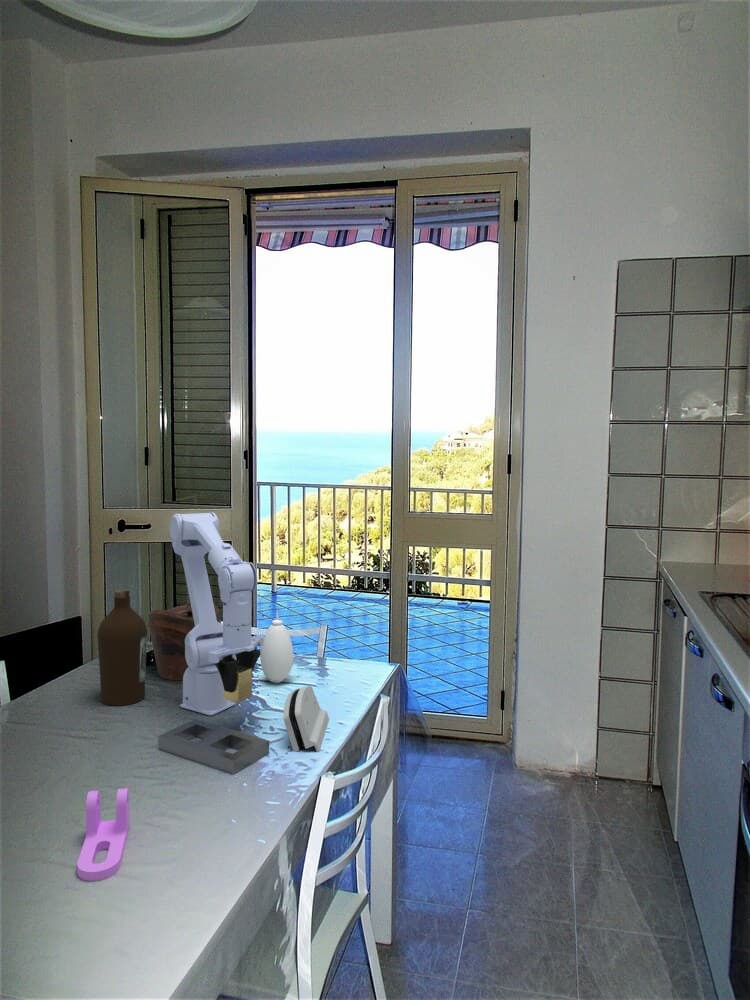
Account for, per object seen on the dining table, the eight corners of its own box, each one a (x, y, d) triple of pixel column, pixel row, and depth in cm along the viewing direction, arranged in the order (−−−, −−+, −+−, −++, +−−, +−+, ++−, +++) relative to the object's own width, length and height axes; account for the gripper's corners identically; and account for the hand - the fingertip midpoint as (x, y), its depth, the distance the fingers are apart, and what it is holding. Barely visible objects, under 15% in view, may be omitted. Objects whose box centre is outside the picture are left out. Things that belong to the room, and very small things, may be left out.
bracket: (90, 830, 106) (90, 786, 105) (129, 827, 107) (129, 783, 106) (73, 884, 93) (72, 834, 93) (117, 879, 94) (117, 829, 94)
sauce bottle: (254, 681, 172) (254, 610, 170) (278, 674, 178) (278, 604, 176) (275, 689, 167) (275, 615, 165) (299, 681, 173) (300, 610, 171)
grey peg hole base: (158, 748, 134) (158, 736, 134) (196, 730, 142) (195, 718, 142) (233, 774, 124) (233, 760, 124) (269, 753, 133) (269, 740, 133)
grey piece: (319, 752, 134) (302, 704, 133) (295, 759, 134) (278, 711, 133) (329, 718, 150) (314, 675, 150) (308, 724, 151) (293, 681, 150)
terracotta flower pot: (221, 657, 190) (220, 593, 188) (221, 683, 171) (220, 611, 169) (153, 661, 186) (151, 595, 185) (145, 688, 167) (143, 615, 165)
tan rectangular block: (223, 698, 142) (223, 669, 142) (236, 692, 146) (236, 664, 145) (238, 702, 140) (238, 673, 140) (251, 696, 144) (251, 668, 143)
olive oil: (96, 709, 153) (94, 596, 150) (99, 692, 163) (98, 586, 161) (147, 704, 156) (146, 594, 154) (147, 688, 166) (147, 584, 164)
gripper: (227, 634, 133) (227, 703, 135) (275, 618, 146) (274, 681, 147) (200, 628, 137) (200, 695, 138) (249, 613, 149) (248, 675, 151)
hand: (236, 688), depth 143 cm, fingers closed on tan rectangular block, 4 cm apart
